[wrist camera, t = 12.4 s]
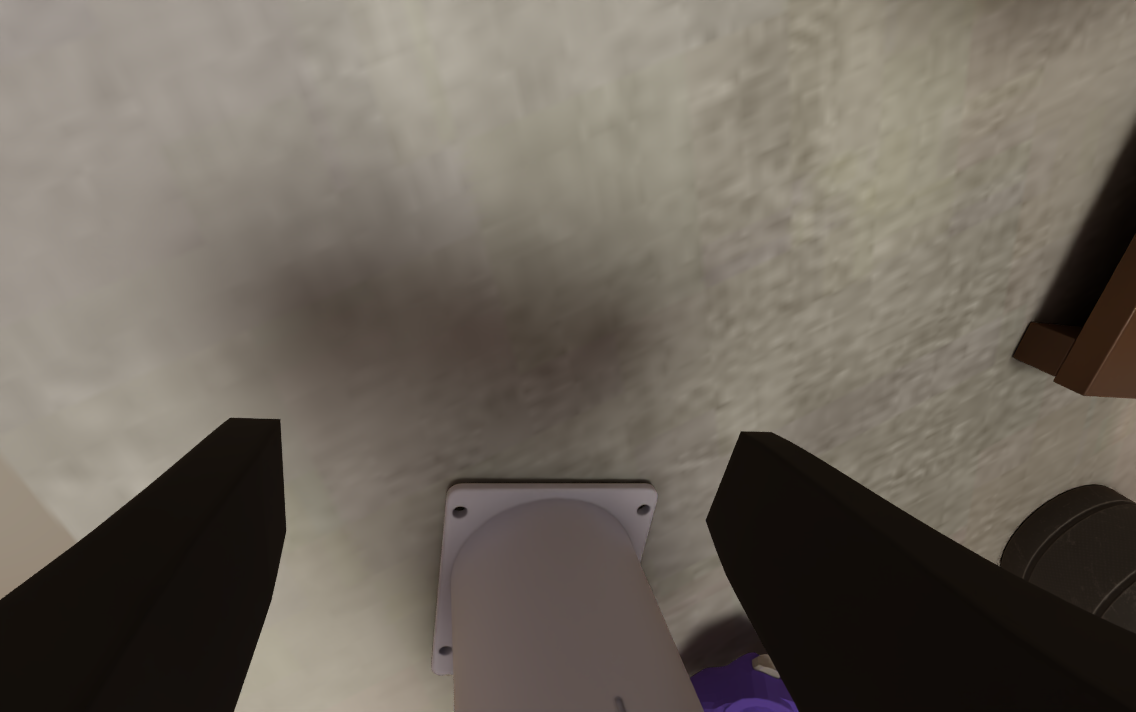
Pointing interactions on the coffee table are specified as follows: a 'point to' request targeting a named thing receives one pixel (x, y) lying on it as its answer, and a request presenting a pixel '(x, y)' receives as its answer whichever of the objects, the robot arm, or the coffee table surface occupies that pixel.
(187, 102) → the coffee table surface
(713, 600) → the coffee table surface
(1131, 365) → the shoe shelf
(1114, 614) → the flashlight
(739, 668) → the game controller
